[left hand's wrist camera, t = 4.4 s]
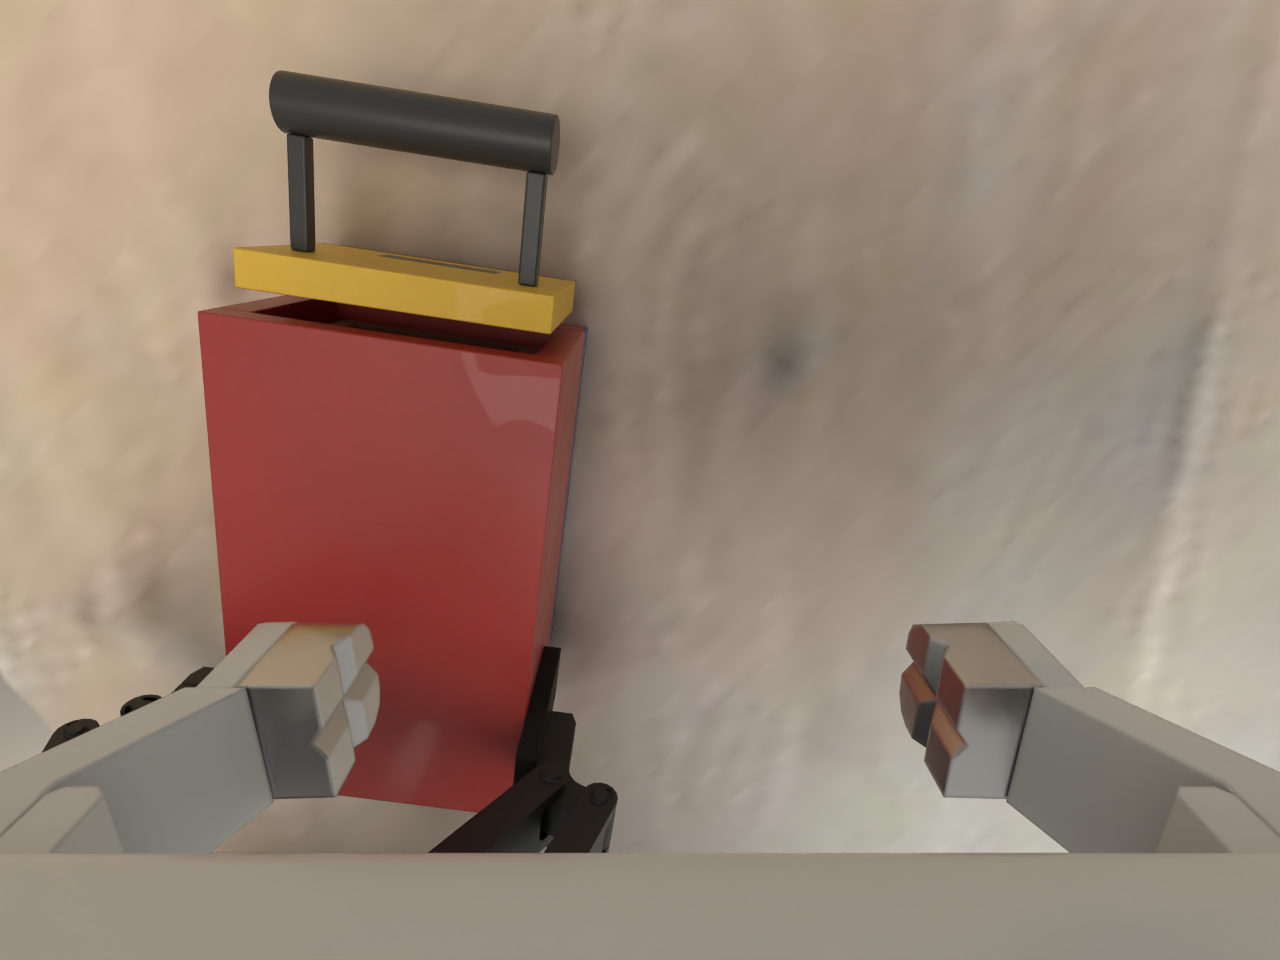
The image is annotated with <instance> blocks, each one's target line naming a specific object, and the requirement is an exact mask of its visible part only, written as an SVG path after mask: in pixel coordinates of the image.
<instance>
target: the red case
mask: <svg viewBox="0 0 1280 960" xmlns="http://www.w3.org/2000/svg"><path fill="white" fill-rule="evenodd" d="M343 319H350V320H357V321H364V322H370V323H377V324H384V325H391V326H397V327H404V328H411V329H417V330H424V331H431V332H438V333H444V334H451V335H458V336H464V337H471V338H478V339H485V340H491V341H498V342H505V343H512V344H518V345H525V346H532V347H538V348H542V349H541V350H540V351H539V352H538V353H537V354H536V355H534V354H527V353H520V352H514V351H507V350H500V349H493V348H487V347H480V346H473V345H466V344H460V343H453V342H446V341H440V340H433V339H426V338H419V337H413V336H406V335H399V334H392V333H386V332H379V331H372V330H365V329H359V328H352V327H345V326H338V325H332V324H330V323H333V322H337V321H340V320H343ZM198 321H199V333H200V346H201V358H202V370H203V382H204V394H205V406H206V418H207V430H208V442H209V454H210V466H211V478H212V491H213V503H214V515H215V527H216V539H217V551H218V563H219V575H220V587H221V599H222V611H223V623H224V635H225V648H226V656H227V655H228V654H229V653H230V652H231V651H232V650H233V649H234V648H235V647H236V646H237V645H238V644H239V643H240V642H241V641H242V640H243V639H244V638H245V637H246V636H247V635H248V634H249V633H250V632H251V631H252V630H253V629H254V628H255V626H256V625H257V624H261V623H265V622H297V623H299V622H319V623H364V624H365V625H366V626H367V627H368V628H369V629H370V631H371V636H372V641H373V646H374V650H373V651H372V653H371V654H370V656H369V658H368V659H367V661H366V662H367V663H368V664H369V665H370V666H371V667H372V668H373V669H374V670H375V671H376V672H377V673H378V676H379V683H380V706H379V710H378V715H377V719H376V723H375V725H374V727H373V729H372V731H371V733H370V735H369V737H368V738H367V739H366V740H364V741H363V742H362V743H360V744H359V745H357V746H356V747H354V753H355V759H356V762H355V763H354V765H353V767H352V769H351V771H350V773H349V775H348V776H347V778H346V780H345V782H344V784H343V786H342V787H341V789H340V791H339V793H338V795H342V796H350V797H358V798H366V799H374V800H382V801H390V802H398V803H406V804H414V805H422V806H430V807H438V808H446V809H454V810H462V811H470V812H478V813H479V812H480V811H481V810H482V809H484V808H485V807H486V806H487V805H489V804H490V803H491V802H493V801H494V800H495V799H496V798H498V797H499V796H500V795H501V794H503V793H504V792H505V791H506V790H508V789H509V788H510V787H511V786H513V780H514V770H515V760H516V752H517V748H518V744H519V741H520V737H521V733H522V729H523V725H524V721H525V717H526V715H527V711H528V707H529V703H530V699H531V695H532V692H533V688H534V684H535V680H536V676H537V672H538V668H539V664H540V661H541V657H542V653H543V649H544V646H549V647H550V646H551V637H552V629H553V620H554V612H555V603H556V594H557V586H558V577H559V569H560V560H561V552H562V543H563V535H564V526H565V517H566V509H567V500H568V492H569V483H570V475H571V466H572V457H573V449H574V440H575V432H576V423H577V415H578V406H579V398H580V389H581V380H582V372H583V363H584V355H585V346H586V338H587V329H588V328H586V327H585V328H582V327H576V326H569V325H562V324H560V325H559V326H558V327H557V328H556V329H555V330H554V331H553V332H552V333H551V334H544V333H538V332H531V331H524V330H518V329H511V328H504V327H498V326H491V325H484V324H478V323H471V322H464V321H457V320H451V319H444V318H437V317H431V316H424V315H417V314H411V313H404V312H397V311H391V310H384V309H377V308H371V307H364V306H357V305H350V304H344V303H337V302H330V301H324V300H317V299H310V298H304V297H297V296H290V295H284V296H279V297H273V298H268V299H262V300H257V301H252V302H246V303H241V304H235V305H230V306H224V307H219V308H214V309H208V310H203V311H198Z"/></svg>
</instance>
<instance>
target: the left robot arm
mask: <svg viewBox="0 0 1280 960" xmlns="http://www.w3.org/2000/svg"><path fill="white" fill-rule="evenodd" d="M373 650H374V646H373V641H372V636H371V631H370V629H369V628H368V627H367V626H366V625H365V624H364V623H319V622H299V623H297V622H265V623H261V624H257V625H256V626H255V628H254V629H253V630H252V631H251V632H250V633H249V634H248V635H247V636H246V637H245V638H244V639H243V640H242V641H241V642H240V643H239V644H238V645H237V646H236V647H235V648H234V649H233V650H232V651H231V652H230V653H229V654H228V655H227V656H226V657H225V658H224V659H223V660H222V661H221V662H220V663H219V664H218V665H217V666H216V667H215V668H214V669H213V670H212V671H211V672H210V673H209V674H208V675H207V676H206V677H205V678H204V680H203V681H202V682H201V683H200V684H199V685H198V686H197V687H186V688H182V689H180V690H178V691H176V692H174V693H171V694H169V695H167V696H165V697H163V698H160V699H158V700H156V701H154V702H152V703H150V704H147V705H145V706H143V707H141V708H139V709H137V710H134V711H132V712H130V713H128V714H126V715H123V716H121V717H119V718H117V719H115V720H113V721H110V722H108V723H106V724H104V725H102V726H99V727H97V728H95V729H93V730H91V731H89V732H86V733H84V734H82V735H80V736H78V737H75V738H73V739H71V740H69V741H67V742H65V743H62V744H60V745H58V746H56V747H54V748H51V749H49V750H47V751H45V752H43V753H41V754H38V755H36V756H34V757H32V758H30V759H28V760H25V761H23V762H21V763H19V764H17V765H14V766H12V767H10V768H8V769H6V770H4V771H1V772H0V960H1280V772H1278V771H1276V770H1274V769H1272V768H1269V767H1267V766H1265V765H1263V764H1261V763H1259V762H1256V761H1254V760H1252V759H1250V758H1248V757H1246V756H1243V755H1241V754H1239V753H1237V752H1235V751H1232V750H1230V749H1228V748H1226V747H1224V746H1222V745H1219V744H1217V743H1215V742H1213V741H1211V740H1209V739H1206V738H1204V737H1202V736H1200V735H1198V734H1196V733H1193V732H1191V731H1189V730H1187V729H1185V728H1182V727H1180V726H1178V725H1176V724H1174V723H1172V722H1169V721H1167V720H1165V719H1163V718H1161V717H1159V716H1156V715H1154V714H1152V713H1150V712H1148V711H1146V710H1143V709H1141V708H1139V707H1137V706H1135V705H1132V704H1130V703H1128V702H1126V701H1124V700H1122V699H1119V698H1117V697H1115V696H1113V695H1111V694H1109V693H1106V692H1104V691H1102V690H1100V689H1098V688H1095V687H1083V686H1082V685H1081V684H1080V683H1079V682H1078V680H1077V679H1076V678H1075V677H1074V676H1073V675H1072V674H1071V673H1070V672H1069V671H1068V670H1067V669H1066V668H1065V667H1064V666H1063V665H1062V664H1061V663H1060V662H1059V661H1058V660H1057V659H1056V658H1055V657H1054V656H1053V655H1052V654H1051V653H1050V652H1049V651H1048V650H1047V649H1046V648H1045V647H1044V646H1043V645H1042V644H1041V643H1040V642H1039V641H1038V640H1037V639H1036V638H1035V637H1034V636H1033V634H1032V633H1031V632H1030V631H1029V630H1028V629H1027V628H1026V627H1025V626H1024V625H1022V624H1019V623H1017V622H1014V621H1012V622H985V623H956V624H917V625H913V626H912V628H911V630H910V632H909V634H908V640H907V645H906V650H907V651H908V653H909V654H910V656H911V658H912V659H913V661H914V662H913V663H912V664H911V665H910V666H909V667H908V668H907V669H906V670H905V671H904V672H903V673H902V677H901V685H900V704H901V713H902V716H903V719H904V722H905V726H906V727H907V729H908V731H909V733H910V735H911V737H912V738H913V739H914V740H916V741H917V742H918V743H920V744H921V745H923V746H924V747H926V753H925V759H924V762H925V763H926V765H927V767H928V769H929V771H930V773H931V775H932V776H933V778H934V780H935V782H936V784H937V786H938V787H939V789H940V791H941V793H942V795H943V797H955V798H991V799H1007V801H1006V802H1007V803H1009V804H1010V805H1011V806H1012V807H1014V808H1015V809H1016V810H1017V811H1019V812H1020V813H1021V814H1022V815H1024V816H1025V817H1026V818H1027V819H1029V820H1030V821H1031V822H1032V823H1033V824H1035V825H1036V826H1037V827H1038V828H1040V829H1041V830H1042V831H1043V832H1045V833H1046V834H1047V835H1048V836H1050V837H1051V838H1052V839H1053V840H1055V841H1056V842H1057V843H1058V844H1060V845H1061V846H1062V847H1063V848H1065V849H1066V850H1067V851H1068V852H1070V853H210V852H212V851H213V850H214V849H215V848H217V847H218V846H219V845H220V844H222V843H223V842H224V841H225V840H227V839H228V838H229V837H230V836H232V835H233V834H234V833H235V832H237V831H238V830H239V829H240V828H242V827H243V826H244V825H245V824H247V823H248V822H249V821H250V820H252V819H253V818H254V817H256V816H257V815H258V814H259V813H261V812H262V811H263V810H264V809H266V808H267V807H268V806H269V805H271V804H272V803H273V799H289V798H323V797H337V795H338V793H339V791H340V789H341V787H342V786H343V784H344V782H345V780H346V778H347V776H348V775H349V773H350V771H351V769H352V767H353V765H354V763H355V762H356V759H355V753H354V747H356V746H357V745H359V744H360V743H362V742H363V741H364V740H366V739H367V738H368V737H369V735H370V733H371V731H372V729H373V727H374V725H375V723H376V719H377V715H378V710H379V706H380V683H379V676H378V673H377V672H376V671H375V670H374V669H373V668H372V667H371V666H370V665H369V664H368V663H367V662H366V661H367V659H368V658H369V656H370V654H371V653H372V651H373Z"/></svg>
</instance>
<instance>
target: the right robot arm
mask: <svg viewBox="0 0 1280 960" xmlns="http://www.w3.org/2000/svg"><path fill="white" fill-rule="evenodd" d="M560 652H561V648H556V647H549V646H544V649H543V653H542V657H541V661H540V664H539V668H538V672H537V676H536V680H535V684H534V688H533V692H532V695H531V699H530V703H529V707H528V711H527V715H526V717H525V721H524V725H523V729H522V733H521V737H520V741H519V744H518V748H517V752H516V760H515V770H514V780H513V786H511V787H510V788H509V789H508V790H506V791H505V792H504V793H503V794H501V795H500V796H499V797H498V798H496V799H495V800H494V801H493V802H491V803H490V804H489V805H487V806H486V807H485V808H484V809H482V810H481V811H480V812H479V813H477V814H476V815H475V816H474V817H472V818H471V819H470V820H469V821H467V822H466V823H465V824H464V825H462V826H461V827H460V828H459V829H457V830H456V831H455V832H454V833H452V834H451V835H450V836H449V837H447V838H446V839H445V840H443V841H442V842H441V843H440V844H438V845H437V846H436V847H435V848H433V849H432V850H431V851H430V852H428V853H539V852H540V851H541V850H542V849H543V848H544V847H545V846H546V847H547V849H546V851H545V852H544V853H608V851H609V845H610V839H611V833H612V828H613V822H614V816H615V810H616V805H617V799H618V798H617V793H616V792H615V790H614V789H613V788H612V787H611V786H609V785H607V784H604V783H593V784H590V785H588V786H587V787H584V786H582V785H580V784H578V783H577V782H575V781H574V780H573V779H572V777H571V776H570V773H569V767H570V761H571V754H572V747H573V740H574V733H575V726H576V722H575V720H574V717H573V714H570V713H563V712H555V711H552V709H553V704H554V699H555V692H556V684H557V676H558V668H559V660H560ZM213 669H214V668H210V667H203V668H201V669H199V670H197V671H195V672H194V673H192V674H190V675H189V676H188V677H187V678H186V679H185V680H184V681H183V682H182V684H180V685H179V686H178V687H177V688H176V689H175V691H173V692H172V693H174V692H176V691H178V690H180V689H182V688H186V687H197V686H198V685H199V684H200V683H201V682H202V681H203V680H204V678H205V677H206V676H207V675H208V674H209V673H210V672H211V671H212V670H213ZM160 698H162V697H160V696H158V695H143V696H139V697H136V698H134V699H132V700H130V701H128V702H127V703H125V704H124V705H123V706H122V708H121V710H120V714H121V716H123V715H126V714H128V713H130V712H132V711H134V710H137V709H139V708H141V707H143V706H145V705H147V704H150V703H152V702H154V701H156V700H158V699H160ZM97 727H99V724H98V722H97V721H95V720H92V719H80V720H75V721H72V722H69V723H66V724H64V725H63V726H61V727H60V728H58V729H57V730H56V731H55V732H54V733H53V735H52V736H51V738H50V740H49V741H48V743H47V745H46V746H45V748H44V750H43V751H42V753H43V752H45V751H47V750H49V749H51V748H54V747H56V746H58V745H60V744H62V743H65V742H67V741H69V740H71V739H73V738H75V737H78V736H80V735H82V734H84V733H86V732H89V731H91V730H93V729H95V728H97Z"/></svg>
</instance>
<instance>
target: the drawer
mask: <svg viewBox="0 0 1280 960" xmlns="http://www.w3.org/2000/svg"><path fill="white" fill-rule="evenodd" d="M269 101H270V108H271V112H272V116H273V119H274V121H275V123H276V125H277V126H278V128H279V129H280V130H281V131H283V132H284V133H288V134H287V152H288V181H289V210H290V240H291V245H281V246H260V247H239V248H233V255H234V271H235V286H236V287H237V288H243V289H250V290H257V291H264V292H270V293H277V294H284V295H290V296H297V297H304V298H310V299H317V300H324V301H330V302H337V303H344V304H350V305H357V306H364V307H371V308H377V309H384V310H391V311H397V312H404V313H411V314H417V315H424V316H431V317H437V318H444V319H451V320H457V321H464V322H471V323H478V324H484V325H491V326H498V327H504V328H511V329H518V330H524V331H531V332H538V333H544V334H551V333H552V332H553V331H554V330H555V329H556V328H557V327H558V326H559V325H560V324H561V323H562V322H563V320H564V319H565V318H566V317H567V316H568V315H569V314H570V313H571V312H572V311H573V301H574V292H575V281H569V280H562V279H556V278H549V277H542V276H539V267H540V256H541V245H542V234H543V223H544V211H545V200H546V189H547V178H548V177H547V175H545V174H548V175H553V174H554V172H555V170H556V166H557V160H558V153H559V141H560V122H559V117H558V116H557V115H555V114H549V113H543V112H537V111H530V110H524V109H518V108H512V107H506V106H499V105H493V104H487V103H481V102H474V101H468V100H462V99H456V98H450V97H443V96H437V95H431V94H425V93H419V92H412V91H406V90H400V89H394V88H387V87H381V86H375V85H369V84H363V83H356V82H350V81H344V80H338V79H332V78H325V77H319V76H313V75H307V74H300V73H294V72H288V71H277V72H276V73H275V74H274V75H273V77H272V79H271V83H270V89H269ZM311 137H313V138H319V139H326V140H332V141H338V142H345V143H351V144H357V145H364V146H370V147H376V148H383V149H389V150H395V151H402V152H408V153H414V154H421V155H427V156H433V157H440V158H446V159H452V160H459V161H465V162H471V163H478V164H484V165H490V166H497V167H503V168H509V169H516V170H522V171H528V172H527V178H526V190H525V203H524V215H523V228H522V241H521V253H520V266H519V273H516V272H510V271H503V270H497V269H490V268H483V267H477V266H470V265H464V264H457V263H451V262H444V261H438V260H431V259H424V258H418V257H411V256H405V255H398V254H392V253H385V252H379V251H372V250H365V249H359V248H352V247H346V246H339V245H333V244H326V243H323V244H315V207H314V162H313V139H312V138H311ZM330 324H332V325H338V326H345V327H352V328H359V329H365V330H372V331H379V332H386V333H392V334H399V335H406V336H413V337H419V338H426V339H433V340H440V341H446V342H453V343H460V344H466V345H473V346H480V347H487V348H493V349H500V350H507V351H514V352H520V353H527V354H534V355H536V354H537V353H538V352H539V351H540V350H541V349H542V348H538V347H532V346H525V345H518V344H512V343H505V342H498V341H491V340H485V339H478V338H471V337H464V336H458V335H451V334H444V333H438V332H431V331H424V330H417V329H411V328H404V327H397V326H391V325H384V324H377V323H370V322H364V321H357V320H350V319H343V320H340V321H337V322H333V323H330Z"/></svg>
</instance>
